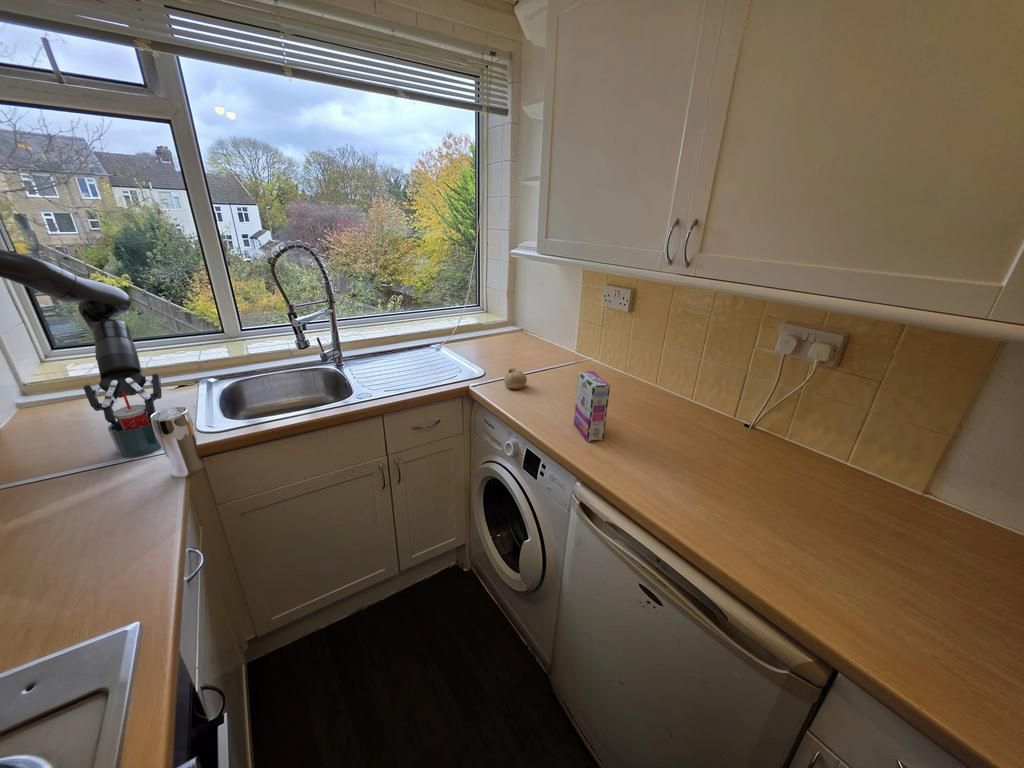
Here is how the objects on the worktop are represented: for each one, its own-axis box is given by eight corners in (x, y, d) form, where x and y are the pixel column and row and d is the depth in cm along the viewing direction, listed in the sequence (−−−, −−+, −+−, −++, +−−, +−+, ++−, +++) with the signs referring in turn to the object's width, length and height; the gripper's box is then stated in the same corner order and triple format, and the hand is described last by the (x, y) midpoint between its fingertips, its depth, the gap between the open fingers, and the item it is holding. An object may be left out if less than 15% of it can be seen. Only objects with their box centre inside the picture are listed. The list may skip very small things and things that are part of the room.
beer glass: (173, 482, 91) (151, 423, 85) (167, 470, 95) (145, 413, 89) (210, 469, 96) (191, 412, 90) (202, 458, 100) (184, 403, 94)
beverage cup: (164, 437, 104) (146, 387, 98) (139, 450, 98) (119, 397, 93) (145, 434, 105) (126, 384, 99) (119, 446, 99) (97, 394, 94)
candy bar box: (604, 441, 110) (611, 385, 104) (587, 442, 109) (592, 386, 103) (589, 422, 120) (594, 370, 114) (573, 423, 119) (577, 371, 113)
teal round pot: (133, 466, 96) (120, 435, 93) (112, 456, 100) (99, 426, 97) (178, 447, 104) (168, 418, 101) (157, 438, 108) (147, 410, 105)
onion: (518, 381, 149) (519, 363, 146) (530, 388, 142) (531, 370, 140) (499, 385, 145) (499, 367, 142) (511, 393, 139) (511, 374, 136)
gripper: (158, 360, 108) (173, 416, 104) (83, 372, 100) (96, 433, 96) (151, 346, 102) (166, 405, 98) (71, 357, 94) (84, 422, 90)
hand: (131, 418), depth 97 cm, fingers closed on beverage cup, 6 cm apart
